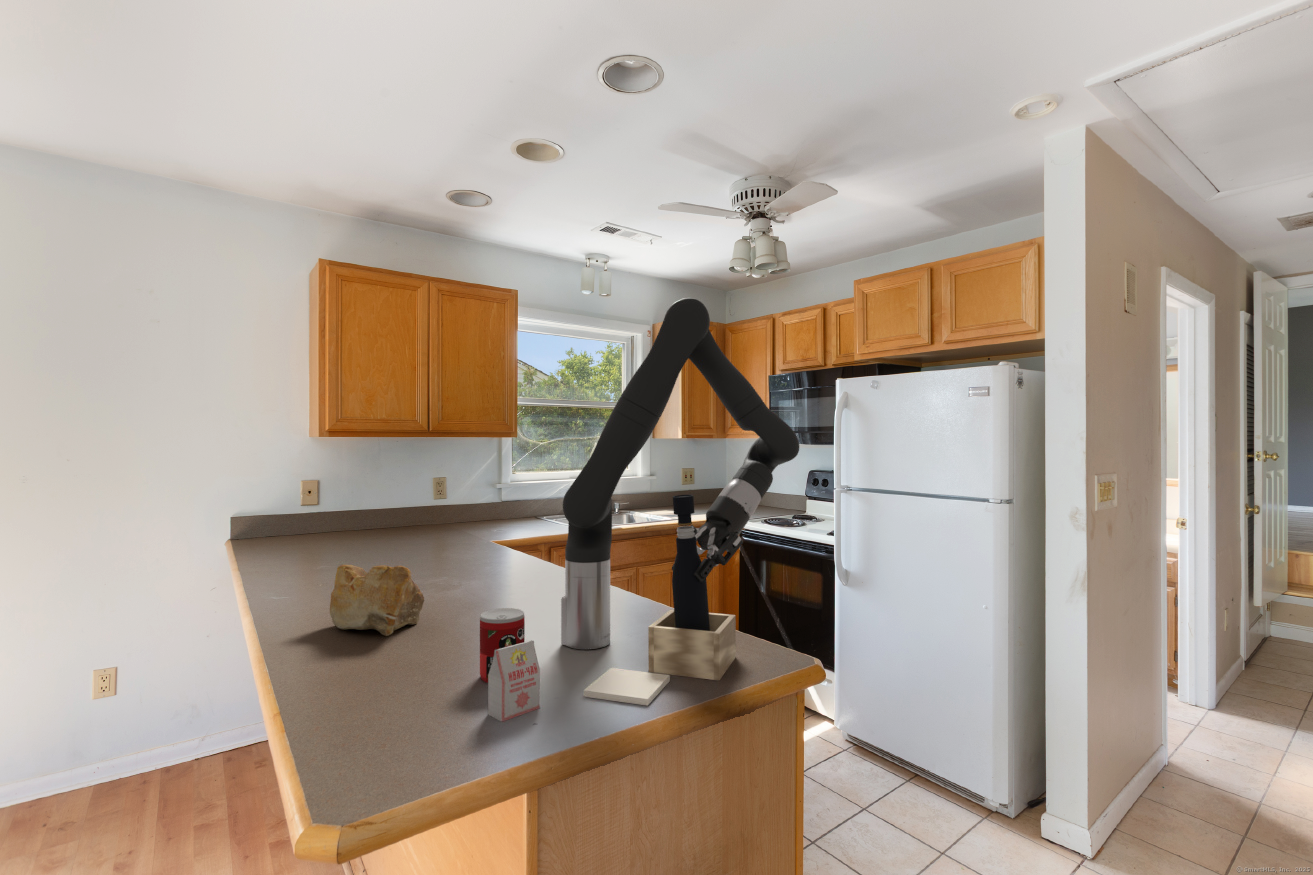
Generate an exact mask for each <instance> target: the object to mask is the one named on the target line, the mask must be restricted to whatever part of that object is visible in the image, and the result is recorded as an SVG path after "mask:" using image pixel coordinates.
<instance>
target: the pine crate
mask: <svg viewBox="0 0 1313 875" xmlns="http://www.w3.org/2000/svg"><path fill="white" fill-rule="evenodd" d="M736 620H737V619H736V615H735V614H729V613H727V614H726V613H715V612H709V623H710V631H703V630H693V629H683V628H675V616H674V609H670V610H668V611H666V613H664V614H663V615H662V616H661V617H659V618H658V619H657V620H655V621H653V623H652V624H650V625H648V626H647V627H648V628H647V629H648V638H647V639H648V640H647V641H648V642H647V643H648V673H657V674H665V675H670V676H671V675H672V676H679V677H685V678H687V677H689V678H695V679H704V680H705V679H707V680H710V681H711V680H712V681H721V679H722V678H723V676H724V674H725V673H726V672H727V671H728V669H729V668H730V667H731V664H732V663H733V662H734V660H735V659H736V657H737V653H736V652H737V651H736V650H737V648H736V646H737V642H736V640H737V638H736V634H737V633H736V632H737V631H736V630H737V629H736V623H737V621H736Z"/></svg>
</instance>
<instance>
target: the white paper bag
mask: <svg viewBox="0 0 1313 875" xmlns="http://www.w3.org/2000/svg"><path fill="white" fill-rule="evenodd" d="M535 646H536V645H535V641H534V640H528V641H525V642H524V643H520V644H516V645H512V646H508V647H505V648H501V649H497V650H495V652H494V658H493V662H492V665H491V668H490V671H489V674H488V683H487V686H488V689H487V695H488V696H487V697H488V700H487V702H488V705H487V706H488V707H487V713H488V715H489V716H490V717H493V718H494V719H496V720H498V721H499V722H505V721H507V720H510V719H513V718H516V717H518V716H522V715H524V714H527V713H530V712H533V711H535V710H538V709H540V708H541V707H540V706H541V704H540V703H541V702H540V701H541V668H540V665H539V661H538V656H537V652H536V648H535Z"/></svg>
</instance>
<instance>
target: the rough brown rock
mask: <svg viewBox="0 0 1313 875" xmlns="http://www.w3.org/2000/svg"><path fill="white" fill-rule="evenodd" d="M424 603H425V596H424V594H423V593H422V591H421V589H420V588H419V585H418V584H416V583H415V582H414V580H413V579H412V573H411V570H410V569H409V568H408V567H406V566H403V565H396V566H389V565H384V564H383V565H382V564H381V565H375V566H372V567H371V568H370V569H369V570H368V572H366V570H364V568H363V567H359V566H356V565H353V564H340V565H338V566H337V568H336V573H335V579H334V587H333V590H332V591H331V593H330V603H329V615H330V618H331V620H332V621H331V622H332V623H333V625H334V626H336V628H338V629H340V630H358V631H360V630H361V631H365V630H370V629H371V630H376V631H377V632H379V634H381V635H383V636H386V637H388V636H390V635H392V634H394V631H396V630H398V629H401V628H402V627H405V626H406V625H407V626H413V625H417V624H418V622H419V620H420V613H421V611H422V608H423V606H424Z"/></svg>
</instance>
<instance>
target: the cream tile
mask: <svg viewBox="0 0 1313 875" xmlns="http://www.w3.org/2000/svg"><path fill="white" fill-rule="evenodd" d="M670 678H671V675H670V674H662V673H654V672H649V671H648V672H647V671H640V670H631V669H622V668H617V667H610V668H609V669H608V670H607V671H605V672H604V673H603V674H601V675H600V676H599V677H598V678H596V679H595V680H594V681H593V682H592V683H591V684H589V685H588V686H587V687H586V688H585V689H583V697H584V698H592V699H598V700H606V701H614V702H621V703H628V704H633V705H642V706H647V707H648V706H649V705H650V704H651V702H652V701H653V700H654V699H655V698H656V697H657V696H658V695H659V693H660V692H661V691H662V690H663V689H664V688H665V687H666V686H667V685H668V684H669V682H670V681H671V679H670Z"/></svg>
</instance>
